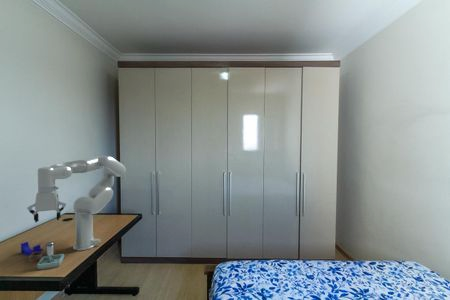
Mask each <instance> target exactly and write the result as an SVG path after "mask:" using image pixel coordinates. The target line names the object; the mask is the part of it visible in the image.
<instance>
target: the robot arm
mask: <svg viewBox="0 0 450 300" xmlns="http://www.w3.org/2000/svg"><path fill="white" fill-rule="evenodd" d="M101 169H103V170H102V172H103V176H102V178H101V179H100V181H98V182H97V183H96V184H95V185H94V186H93V187H92V188H91V189H90V190H89V192H88V196H80V197H78V198H76V199H75V200H74V202H73V210H74V211H73V212H74V216H75V243H74V244H73V246H72V249H73V250H74V251H78V252H79V251H86V250H91V249H92V248H94V247H95V246H96V244H97V243H101V242H102V241H101V239H100V238H95V236H94V216H93V215H95V214H98V213H99V212H100V211H102V209H103V208H105V206H107V204H108V203H110V201H111V200H112V199H113V196H114V190H113V188H112V187H114V183H115V177H121V178H122V177H123V176H125V174H126V173H127V172H126V171H127V169H126V166H125V165H124V164H123V163H121V162H120V161H119V160H117V159H115V158H114V157H112V156H110V155H97V156H93V157H88V158H83V159H78V160H72V161H65V162H61V163H60V162H59V163H57V164H52V165H51V166H46V167H45V166H43V167H39V168H38V169H37V191H38V192H36V195H35V203H33V204H31V205H29V206H27V208H26V209H27V211H29V213H30V214H32V215H33V221H35V222H34V223H38V222H39V212H45V211H47V212H48V211H55V212H56V220H57V221H59V220H60V219H61V217H62V215H61V214H62V213H61V212H62V211H63V210H64V209H65V207H66V205H67V204H66V203H65V202H62V201H60V200H59V198H60V197H59V193H58V191H57V190H59V186H56V180H65V179H69V178H70V177H71V176H72V175H73V174H86V173H89V172H93V171H97V170H101ZM60 206H61V207H60ZM33 208H34V209H33Z"/></svg>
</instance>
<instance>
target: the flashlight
mask: <svg viewBox="0 0 450 300" xmlns="http://www.w3.org/2000/svg"><path fill="white" fill-rule="evenodd" d="M54 245H55V241H48V242H46V243H45V246H46V256H47V263H52V262H54V255H55V252H54V251H55V250H54V249H55V248H54Z"/></svg>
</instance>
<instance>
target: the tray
mask: <svg viewBox="0 0 450 300" xmlns="http://www.w3.org/2000/svg"><path fill="white" fill-rule="evenodd" d="M64 260H65V253H60V254H54V262H52V263H47V255H45V256H43V257H42V259H41V260H40V261H38V262H37V264H36V267H35V268H36V269H35V270H36V271H38V270H39V271H40V270H45V269H46V270H47V269H53V268H58V267H60V266H61V265H62V263H63V261H64Z"/></svg>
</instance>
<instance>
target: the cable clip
mask: <svg viewBox="0 0 450 300" xmlns="http://www.w3.org/2000/svg"><path fill="white" fill-rule="evenodd" d="M37 251H44V248H42V247H41V244H37V245H34V246H32V248H31V247H30V245H29V242H28V241H25V242H23V243H20V255H21V254H22V255H26V256H28V257H29V256H30V255H31V253H32V252H37Z"/></svg>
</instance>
